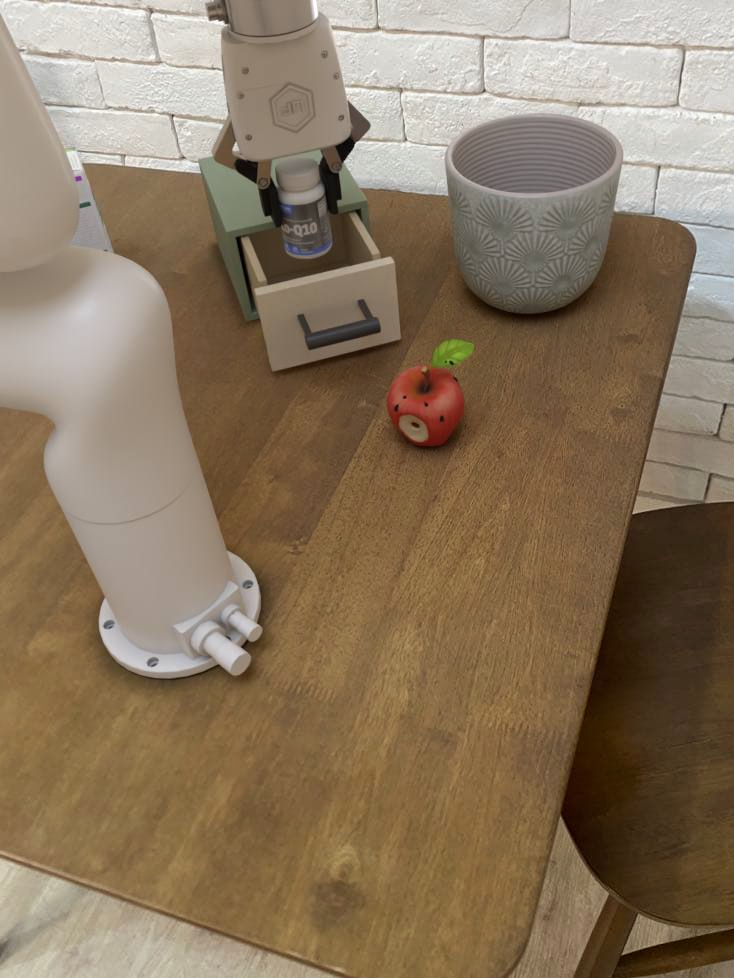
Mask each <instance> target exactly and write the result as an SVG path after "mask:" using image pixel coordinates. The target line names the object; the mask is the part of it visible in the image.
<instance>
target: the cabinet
mask: <svg viewBox="0 0 734 978" xmlns="http://www.w3.org/2000/svg"><path fill="white" fill-rule="evenodd" d="M234 151H235V150H234ZM235 152H236V153H240V154H241V152H240V150H239V149H238V150H236V151H235ZM297 156H303V157H309V158H312V159H314V160H315V161H316V162H317V164H318V165H319V164H320V161H321V158H322V157H323V156H322V154H321V151H320V150H316V151H311V152H307V153H302V154H297V155H293V156H288V157H283V158H279V159H274V160H272V166H271V178H272V180H273V182H274V184H275V186H276V187H277V185H278V184H277V181H276V173H275V167H276V165H277V164H278V163H279V162H280V161H282V160H284V159H287V158H290V157H297ZM197 162H198V167H199V170H200V175H201V179H202V184H203V187H204V192H205V197H206V200H207V205H208V209H209V213H210V217H211V222H212V225H213V230H214V234H215V239H216V242H217V246H218V248H219V252H220V254H221V257H222V259H223V263H224V265H225V268H226V270H227V273H228V276H229V278H230V281H231V284H232V286H233V289H234V292H235V294H236V297H237V300H238V303H239V305H240V309H241V311H242V313H243V316H244V319H245V321H246V322H247V323H248V322H251V321H255V320H260V317H259V315H258V312H257V310H256V307H255V305H254V302H253V299H252V297H251V294H250V292H249V289H248V287H247V283H246V278H245V273H244V269H243V264H242V260H241V255H240V251H239V246H238V242H237V237H238V236H242V235H247V234H251V233H255V232H260V231H264V230H269V229H273V228H276V227H275V225H274V222H273V220H272V218H271V216H267V217H265V216H264V213H263V210H262V206H261V201H260V195H259V190H258V186H257V184H255V183H254V182H252V181H250V180H249V179H247V178H246V177H244V176H243V175H241V174H239V173H238V172H237V171H236V170H234V169H230V168H228V167H226V166H224V165H222V164H220V163H217V162H216V161H215V160H214V158H213V155H211V156H206V157H202V158H198V159H197ZM342 165H343V167H342V170H341V171H340V172H339V177H340V185H341V193H342V200H338V201H337V205H338V214H339V213H343V212H348V211H352V210H355V212H356V213H357V215H358V217H359V218H360V220H361V222H362V223H363V225H364V227H365V228H366V230H367V232H368V234H369V235H370V237H371V238H372V233H371V223H370V221H371V220H370V211H369V205H368V204H369V203H368V198H367V197H366V195H365V194H364V191H362V189H361V187H360V186H359V184H358V183H357V180H355V178H354V176H353V175H352V173H351V172H350V169H349V168H348V167H347V165H346V164H345V161H344V162H343V164H342ZM318 169H319V167H318ZM319 177H320V176H319ZM328 214H329V216H330V215H333V214H330V212H329V210H328Z"/></svg>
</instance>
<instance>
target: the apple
mask: <svg viewBox="0 0 734 978" xmlns="http://www.w3.org/2000/svg"><path fill="white" fill-rule="evenodd" d="M474 346H475V343H473V342H469V341H465V340H462V339H456V338H452V339H451V340H445V341H443V342H441V343H440V344H439V346H437V347H436V348H435V350H434V352H433V355H432V359H431V364H429V365H428V364H423V365H422V364H421V365H416V366H412V367H409V368H407V369H405V370H404V371H402V372H401V373H400V374H399V375H397V377H396V378H395V379H394V381H393V382H392V384H391V385H390V387H389V390H388V393H387V397H386V408H387V412H388V416H389V418H390V420H391V422H392V424H393V425H394V427H395V428H396V429H397V430H398V431H399V433H401V434H402V435H403V436H404V437H405V438H406V439H407V440H408V441H409V442H411V444H414V445H416V446H419V447H439V446H441V445H443V444H444V443H446V442H447V441H448V439H449V438H450V437H451V435H452V433H453V432H454V430H455V428H456V427H457V426H458V425H459V423H460V421H461V420H462V418H463V416H464V412H465V409H466V401H465V396H464V392H463V390H462V388H461V385H460V383H459V379H458V378H457V377H456V376H454V375H453V374H452V373H451V372H450V371H449V370H447V369H445V368H451V367H455V366H459V365H460V364H462V362H463V361H466V360H467V359H468V358H469V357H470V356H471V355H472V353H473V351H474Z"/></svg>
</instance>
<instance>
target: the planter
mask: <svg viewBox="0 0 734 978" xmlns="http://www.w3.org/2000/svg"><path fill="white" fill-rule="evenodd" d="M623 162H624V148H623V145H622V144H621V142H620V141H619V139H618V138H617V137H616V135H614V133H612V132H611V131H610V130H608V129H607V128H605V127H603V126H602V125H599V124H597V123H595V122H593V121H590V120H587V119H584V118H581V117H577V116H572V115H567V114H560V113H549V112H528V113H517V114H509V115H503V116H498V117H494V118H491V119H487V120H485V121H482V122H479V123H476V124H474V125H472V126H470V127H468V128H467V129H465V130H463V131H462V132H460V133H459V134H458V135H456V136H455V137H454V138H453V139H452V140H451V142H449V144H448V146H447V147H446V150H445V153H444V168H445V176H446V186H447V197H448V205H449V213H450V223H451V233H452V242H453V250H454V257H455V259H456V264H457V267H458V270H459V272H460V274H461V276H462V279H463V281H464V282H465V284H466V286H467V287H468V288H469V290H471V293H473V294H474V295H475V296H477V298H478V299H480V300H481V301H483V302H484V303H485V304H487V305H489V306H491V307H492V308H495V309H498V310H501V311H505V312H509V313H513V314H514V313H515V314H524V315H532V314H541V313H547V312H551V311H556V310H558V309H561V308H563V307H565V306H568V305H569V304H570V303H572V302H573V301H575V300H577V299H578V298H579V297H580V296H582V295H583V294H584V293H585V292H586V291H587V290H588V289H589V288H590V287H591V285H592V283H593V282H594V281H595V279H596V277H597V275H598V273H599V272H600V270H601V267H602V265H603V262H604V258H605V257H606V251H607V247H608V243H609V236H610V231H611V227H612V222H613V221H612V220H613V217H614V211H615V205H616V201H617V200H616V199H617V195H618V189H619V185H620V179H621V173H622V168H623Z"/></svg>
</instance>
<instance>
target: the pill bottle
mask: <svg viewBox="0 0 734 978" xmlns="http://www.w3.org/2000/svg"><path fill="white" fill-rule="evenodd" d="M275 173H276V181H277V184H278V185H277V187H276V188H277V192H278V198H279V204H280V209H281V215H282V221H283V225H281V230H282V236H283V242H284V247H285V250H286V252H287V253H288V254H289V255H290V256H292V257H294V258H298V259H314V258H317V257H320V256H322V255H324V254H326V253H327V252H328V251H329V250H330V248H331V246H332V237H331V229H330V222H329V214H328V206H327V199H326V190H325V186H324V184H323V182H322V181H321V180H320V177H319V176H320V174H319V169H318V164H317V162H316V161H315V160H314V159H312V158H309V157H303V156H297V157H290V158H287V159H284V160H282V161H280V162H279V163H278V164H277V165H276V167H275Z"/></svg>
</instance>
